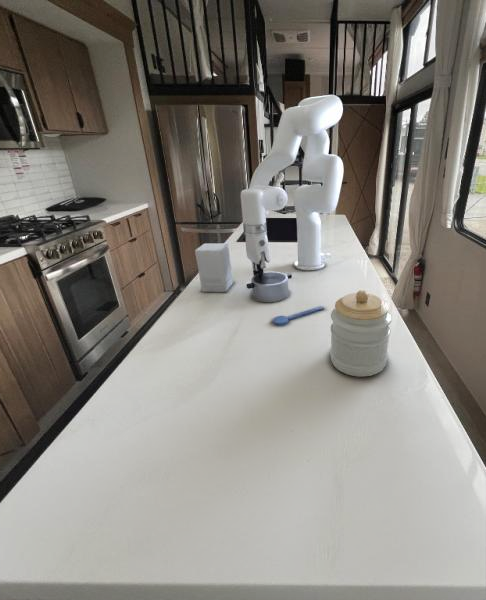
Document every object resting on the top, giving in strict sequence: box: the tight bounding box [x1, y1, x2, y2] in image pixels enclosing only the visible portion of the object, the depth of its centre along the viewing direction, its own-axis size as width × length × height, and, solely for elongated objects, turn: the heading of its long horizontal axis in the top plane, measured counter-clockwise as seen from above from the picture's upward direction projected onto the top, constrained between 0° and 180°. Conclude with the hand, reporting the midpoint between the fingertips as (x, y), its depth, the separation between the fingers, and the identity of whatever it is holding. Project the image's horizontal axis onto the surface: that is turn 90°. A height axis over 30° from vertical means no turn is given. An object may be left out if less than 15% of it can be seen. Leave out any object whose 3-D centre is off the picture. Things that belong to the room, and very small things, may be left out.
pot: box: [246, 271, 293, 303], centre depth 108 cm, size 16×12×6 cm
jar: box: [329, 289, 393, 377], centre depth 71 cm, size 13×13×18 cm
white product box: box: [194, 242, 234, 293], centre depth 113 cm, size 9×9×15 cm
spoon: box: [273, 306, 324, 326], centre depth 95 cm, size 16×4×1 cm, turn 122°
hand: (259, 280), depth 114 cm, fingers closed
